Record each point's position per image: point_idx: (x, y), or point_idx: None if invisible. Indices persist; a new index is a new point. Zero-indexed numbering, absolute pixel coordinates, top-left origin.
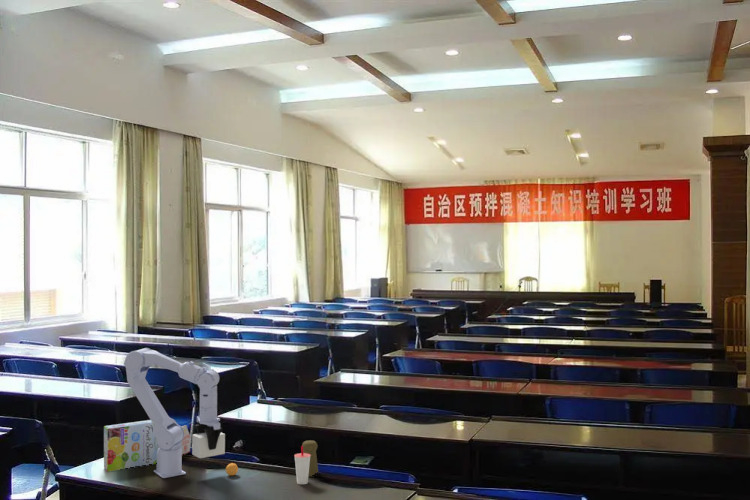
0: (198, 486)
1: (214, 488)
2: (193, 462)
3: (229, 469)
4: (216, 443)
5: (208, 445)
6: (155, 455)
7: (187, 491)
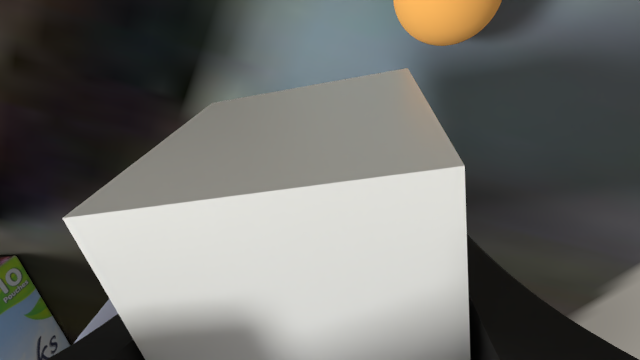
0: (520, 240)
1: (628, 180)
2: (39, 148)
3: (484, 26)
4: (486, 257)
5: None
6: (14, 340)
7: (559, 300)
